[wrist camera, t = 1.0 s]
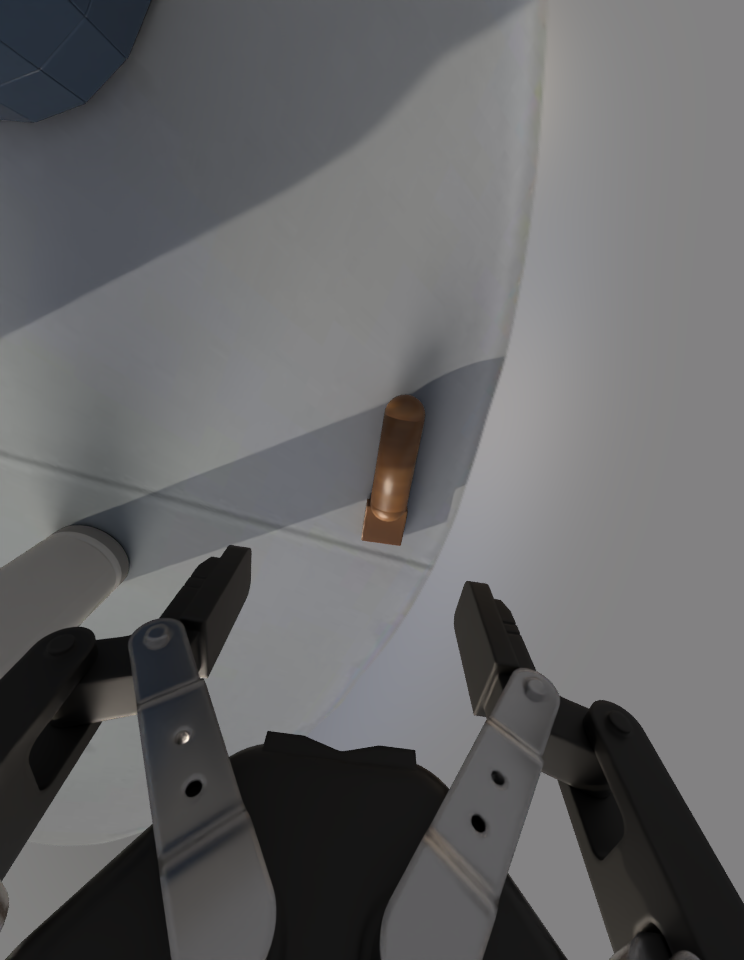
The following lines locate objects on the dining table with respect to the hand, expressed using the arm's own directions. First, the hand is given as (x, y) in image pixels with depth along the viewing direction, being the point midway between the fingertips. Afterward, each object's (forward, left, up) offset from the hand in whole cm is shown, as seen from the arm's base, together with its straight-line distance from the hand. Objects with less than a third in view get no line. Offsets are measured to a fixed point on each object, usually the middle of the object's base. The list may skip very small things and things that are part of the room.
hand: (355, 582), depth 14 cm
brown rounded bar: (-1, +1, -14) cm, 14 cm away
